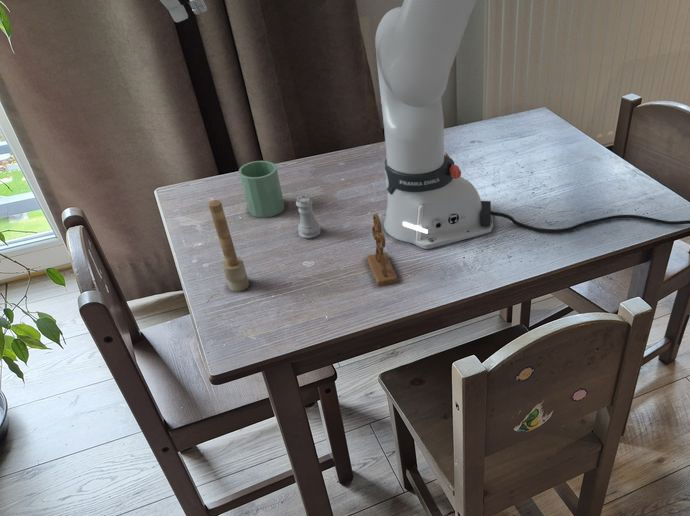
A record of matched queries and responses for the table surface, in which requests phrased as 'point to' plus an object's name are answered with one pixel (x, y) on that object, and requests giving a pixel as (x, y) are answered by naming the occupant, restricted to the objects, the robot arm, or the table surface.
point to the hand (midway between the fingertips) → (192, 16)
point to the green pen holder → (262, 188)
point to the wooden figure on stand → (380, 258)
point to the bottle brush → (228, 250)
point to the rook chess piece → (307, 218)
